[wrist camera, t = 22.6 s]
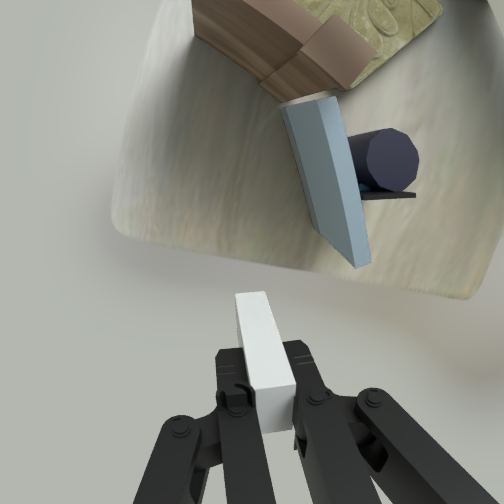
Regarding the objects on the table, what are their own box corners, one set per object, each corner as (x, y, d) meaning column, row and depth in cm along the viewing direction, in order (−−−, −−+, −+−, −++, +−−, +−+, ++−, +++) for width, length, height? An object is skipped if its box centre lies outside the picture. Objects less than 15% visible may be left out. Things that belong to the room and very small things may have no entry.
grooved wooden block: (211, 16, 26) (219, -63, 11) (301, 82, 29) (377, 53, 15) (190, 39, 26) (179, -30, 12) (281, 105, 30) (346, 90, 16)
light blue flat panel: (279, 108, 30) (315, 100, 20) (294, 104, 30) (336, 95, 20) (313, 227, 35) (355, 268, 25) (326, 223, 35) (372, 262, 25)
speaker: (364, 207, 35) (414, 224, 25) (319, 192, 34) (360, 204, 24) (381, 145, 34) (436, 143, 24) (338, 127, 33) (384, 116, 23)
